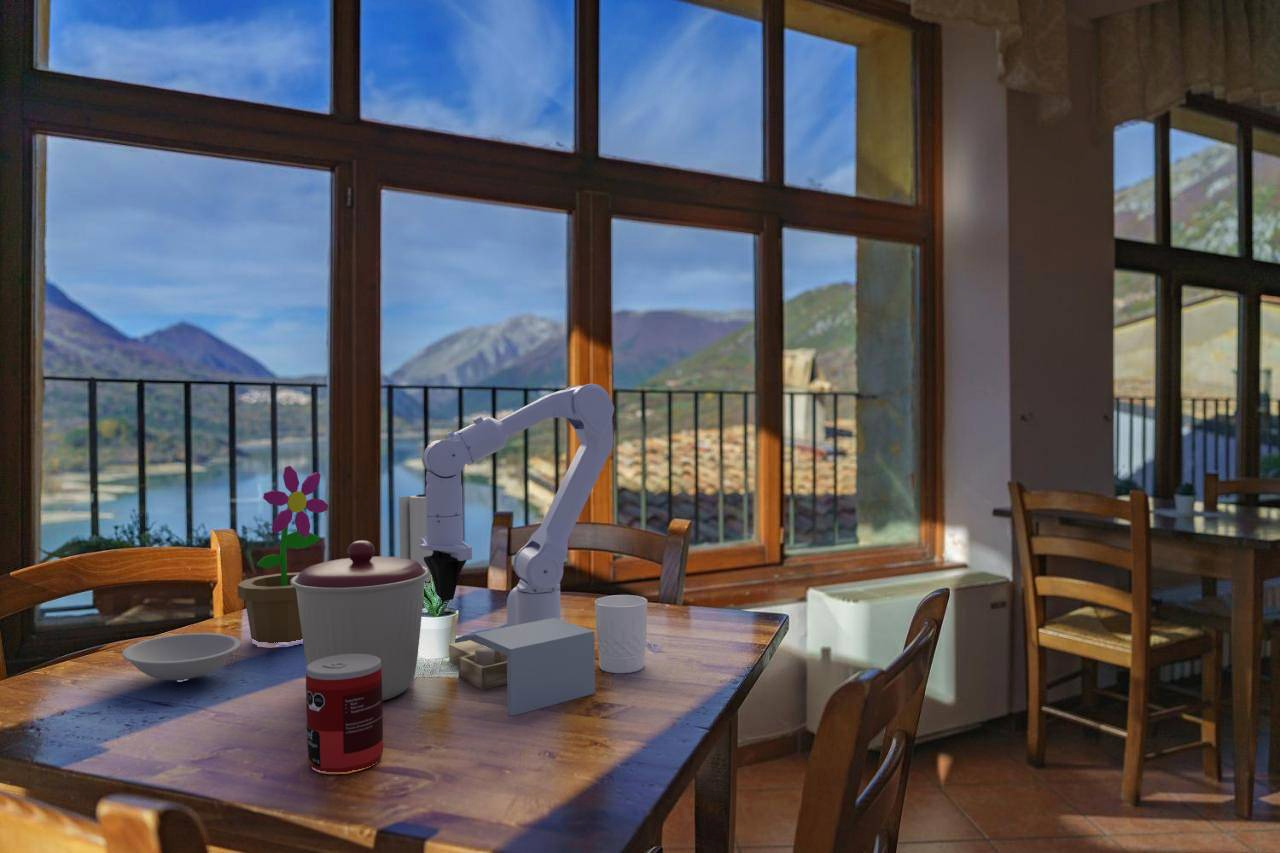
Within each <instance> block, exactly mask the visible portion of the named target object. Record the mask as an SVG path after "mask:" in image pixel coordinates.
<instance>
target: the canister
mask: <svg viewBox="0 0 1280 853" xmlns="http://www.w3.org/2000/svg"><path fill="white" fill-rule="evenodd" d="M375 550H376V548H375V545H373V543H372V542H370V541H369V540H356V541H353V542H352V543H350V545H349V546H348V548H347V555H348V558H347V557H346V558H340V559H339V558H338V559H334V560H333V559H332V560H328V561H324V562H319V563H316V564H313V565H310V566H308V567H305V568H304V569H303V570H301V571H299V572H300V574H299V575H296V576H294V577H293V578H292V579H291V580H290V583H291V585H292V586H293V587H294V588H296V592H297V600H298V609H299V616H300V623H301V630H302V638H303V650H304V657H305V661H306V662H305V664H306V667H307V666H308V664H310V663H312V662H314V661H316V660H318V659H321V658H325V657H329V656H335V655H342V654H368V655H373V656H376V657H378V658H380V659H381V666H382V702H383V701H387V700H390V699H393V698H396V697H397V696H399V695H401V694H402V693H404V692H406V690H407V689H408V688H409V687H410V686H411V684H412V682H413V680H414V678H415V674H416V668H417V664H418V654H419V645H420V636H421V626H422V616H423V615H422V614H423V605H424V600H423V595H424V582H425V578H427V577H428V575H429V573H430V571H429V569H428V568H426V567H424V566H421V565H420V564H419V563H418V562H416V561H413V560H411V559H406V558H400V556H399V557H397V556H380V555H379V556H374V554H375V552H376V551H375Z"/></svg>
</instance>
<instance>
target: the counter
mask: <svg viewBox="0 0 1280 853" xmlns="http://www.w3.org/2000/svg"><path fill="white" fill-rule="evenodd" d="M472 641H473V642H476V643H478V644H480V645H483V646H485V647H487V648H491V649H493V650H495V651H498V652H500V653H502V654H505V655H507V684H506V686H507V687H506V688H507V715H508V716H510V717H514V716H518V715H520V714H525V713H527V712H528V713H529V712H532V711H537V710H540V709H543V708H547V707H550V706H554V705H557V704H562V703H566V702H569V701H572V700H575V699H580V698H584V697H587V696H591V695H594V694H596V659H595V658H596V655H595V653H596V652H595V651H596V650H595V648H596V645H595V644H596V642H595V630H592V629H589V628H586V627H583V626H580V625H576V624H574V623H572V622H568V621H565V620H563V619H561V620H559V619H556V618H550V619H545V620H540V621H535V622H529V623H524V624H519V625H514V626H509V627H507V626H504V627H499V628H494V629H489V630H485V631H479V632H474V633H472Z"/></svg>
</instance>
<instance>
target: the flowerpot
mask: <svg viewBox="0 0 1280 853" xmlns="http://www.w3.org/2000/svg"><path fill="white" fill-rule="evenodd" d="M283 470H284V471H283V476H282V478H283V481H284V482H283V483H284V486H285V489H287V490H288V491H289V492H290V494H289V496H288V495H287V493H286V492H284V491H280V490H274V489H273V490H269V491H266V492H264V493H263V498H262V499H263V500H265V501H266V503H268V504H269V505H274V506H279V507H282V506H284V505H287V507H286V509H283V510H280V512H279V513H277V514H278V515H277V516H276V517H275V518H274V519H273V523H272V527H271V531H272V532H274V534H278V533H280V532H281V537H280V538H281V539H280V546H279V548H280V554H269V555H267V556H263V557H262V558H261V559H260V560H259V561H258V562H257V567H260V568H264V569H271V568H272V569H273V568H275V567H278V566H280V573H274V574H273V573H272V574H266V575H260V576H259V575H258V576H255V577H251V578H248V579H244V580H242V581H240V583H237V598H239V599H241V600H243V601H245V608H246V614H247V619H248V620H247V621H248V625H249V631H250V632H249V633H250V637H251V638H252V639H254V640H256V641H258V642H268V643H274V642H275V643H276V642H277V643H278V642H291V641H296V640H301V639H303V638H302V630H301V623H300V616H299V609H298V600H297V592H296V588H294V587H293V586H292V585H291V583H290V580H291V579H292V578H293V577H294V576H296V575H299V574H300V572H301V571H299V572H287V569H288V565H287V560H288V559H287V548H291V549H296V550H300V549H304V548H308V547H311V546H312V545H314V544H315V543H317V542H319V541H321V536H318V535H316V534H314V533H313V532H310V530H311V523H310V522H311V521H310V519H309V516H308V514H306V512H304V509H305V508H306V509H307V511H309V512H312V513H317V514H321V513H324V512H326V511H328V510H329V509H328V508H329V505H328V503H327V502H326V501H325V500H323V499H319V498H315V497H312V498H309V499H307V497H306V496H307V495H310V494H313V493H314V491H315V490H316V489H317V488H318V486H319V485H320V480H321V474H320V473H319V472H318V471H316V472H314V473H311V474H309V475H308V476H307V477H306V478H305V480H304V481H303V482H302V483H301V489H300V491H298V490H299V486H300V480H299V476H298V473H297V472H296V470H295V469H294V468H293V467H292V466H291V465H288V466H284V469H283ZM293 513H295V518H294V524H295V528H296V530H295V531H292V532H290V533H288V531H289V525H290V523H291V522H292V520H293V516H294V515H293ZM252 639H251V640H252Z"/></svg>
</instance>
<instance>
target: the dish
mask: <svg viewBox="0 0 1280 853" xmlns="http://www.w3.org/2000/svg"><path fill="white" fill-rule="evenodd" d="M240 647H241V641H240V639H238V638H237V637H235V636H232V635H227V634H222V633H215V632H214V633H212V632H210V633H209V632H194V633H193V632H192V633H191V632H190V633H177V634H170V635H164V636H157V637H153V638H148V639H144V640H142V641H137V642H136V643H133V644H131V645H129V646H127V647H125V648H124V649H123V651H122V653H121V655H122V659H124V660H125V661H127V662H130V664H132V666H134V667H135V668H136V669H137V670H138V671H140V672H142V673H143V674H145V675H147V676H149V677H151V678H154V679H158V680H165V681H176V680H184V679H190V680H191V679H195V678H199V677H202V676H205V675H208V674H210V673H212V672H214V671H215V670H216V669H218V668H219V667H221V666H222V665H223V664H224V663H225V662H226V661H227V660H228V659H229V658H230V657H231V655H232V654H233V653H234V652H235V651H237V650H238V649H239V648H240Z"/></svg>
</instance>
